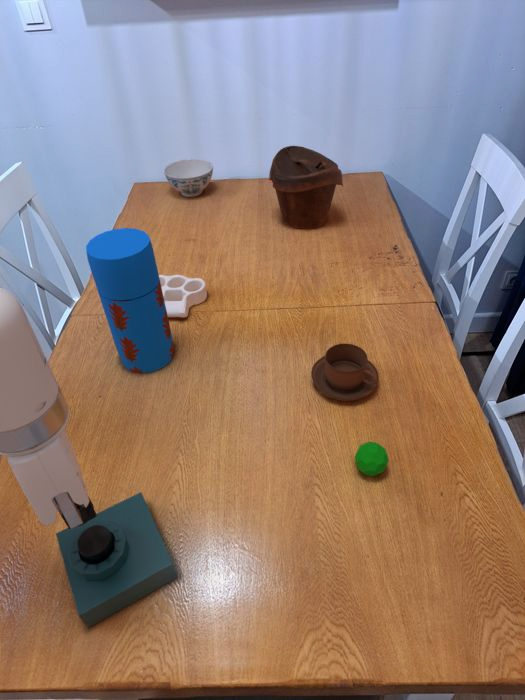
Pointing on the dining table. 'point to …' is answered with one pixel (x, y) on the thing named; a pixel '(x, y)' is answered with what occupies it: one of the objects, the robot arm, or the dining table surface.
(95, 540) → the knob
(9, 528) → the dining table surface
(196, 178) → the chinaware
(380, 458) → the polyhedron
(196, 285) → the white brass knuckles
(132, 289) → the thermos
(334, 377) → the cup and saucer
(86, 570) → the push-button housing
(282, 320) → the dining table surface
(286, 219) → the brown lidded bucket
